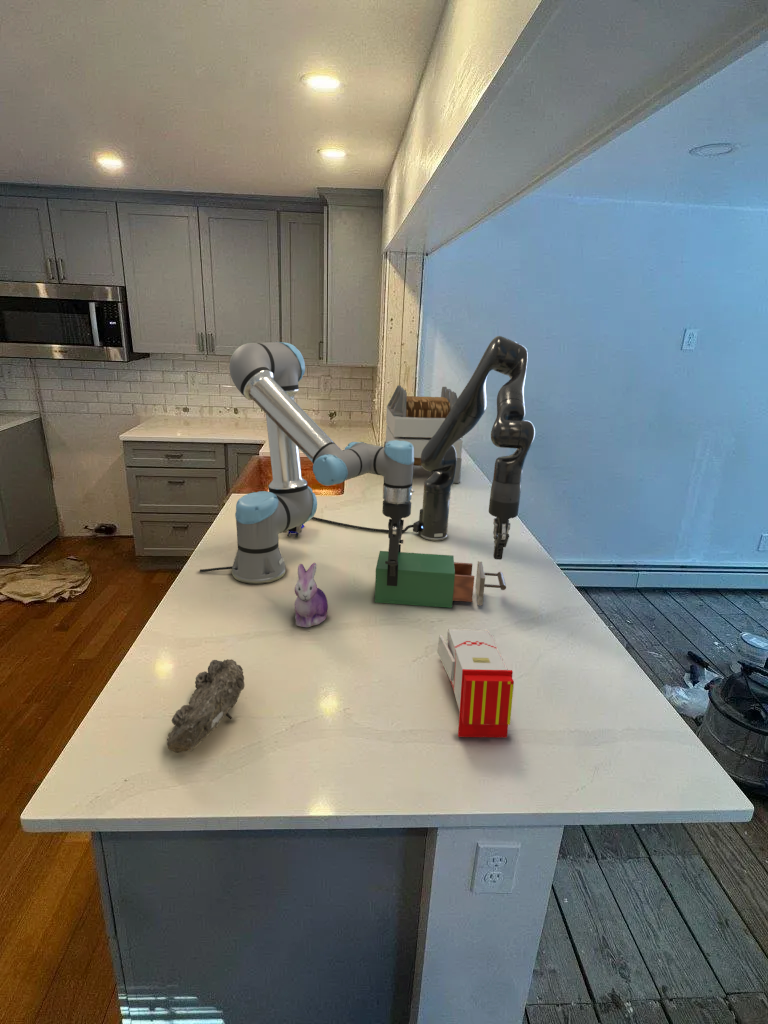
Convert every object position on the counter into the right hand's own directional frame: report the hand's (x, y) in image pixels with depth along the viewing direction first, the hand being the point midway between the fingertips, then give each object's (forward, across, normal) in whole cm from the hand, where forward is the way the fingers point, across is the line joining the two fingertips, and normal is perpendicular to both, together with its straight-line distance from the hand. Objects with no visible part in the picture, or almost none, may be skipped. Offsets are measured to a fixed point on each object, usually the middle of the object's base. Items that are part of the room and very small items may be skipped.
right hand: (497, 558), depth 152 cm
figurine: (+13, -17, +47) cm, 52 cm away
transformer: (+13, +125, +23) cm, 128 cm away
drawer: (+12, 0, +10) cm, 16 cm away
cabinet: (+13, 0, +22) cm, 25 cm away
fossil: (+13, -55, +58) cm, 81 cm away
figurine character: (+13, +40, +65) cm, 77 cm away
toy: (+13, -41, +9) cm, 44 cm away
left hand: (+7, 0, +28) cm, 29 cm away
